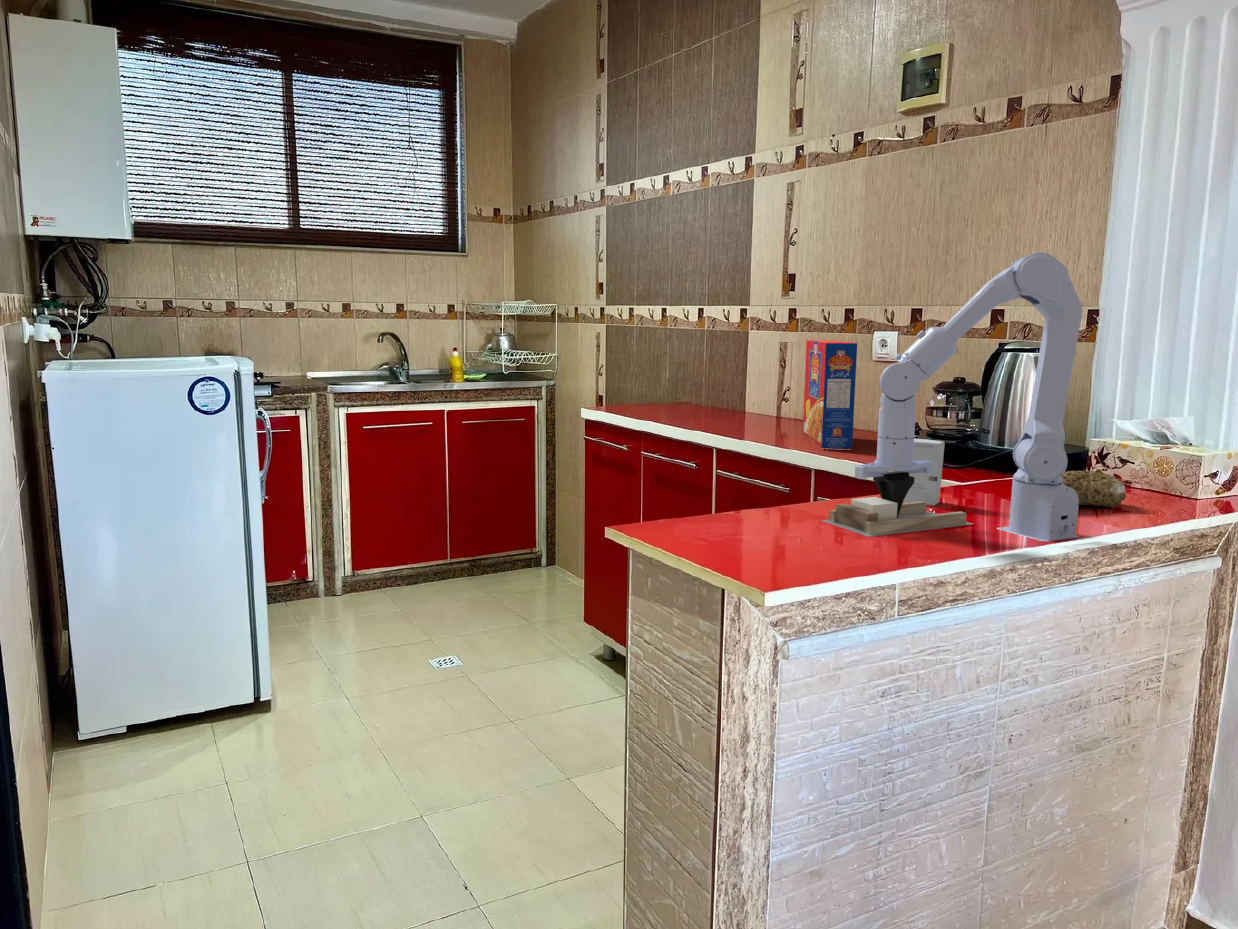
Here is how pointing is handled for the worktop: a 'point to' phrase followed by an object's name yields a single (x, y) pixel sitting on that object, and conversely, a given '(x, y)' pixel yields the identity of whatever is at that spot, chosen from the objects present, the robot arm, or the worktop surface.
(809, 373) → the pasta box
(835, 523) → the track board
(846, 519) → the guide rails
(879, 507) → the block
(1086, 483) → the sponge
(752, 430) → the worktop surface
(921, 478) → the skincare box
